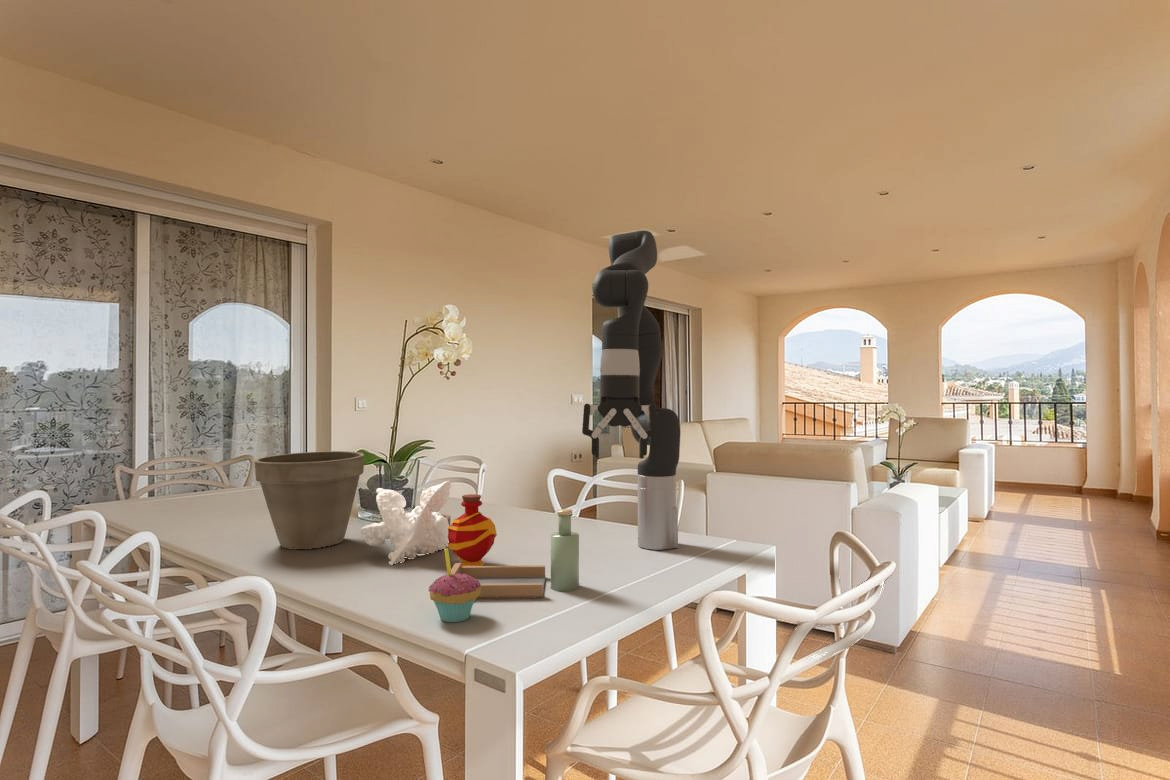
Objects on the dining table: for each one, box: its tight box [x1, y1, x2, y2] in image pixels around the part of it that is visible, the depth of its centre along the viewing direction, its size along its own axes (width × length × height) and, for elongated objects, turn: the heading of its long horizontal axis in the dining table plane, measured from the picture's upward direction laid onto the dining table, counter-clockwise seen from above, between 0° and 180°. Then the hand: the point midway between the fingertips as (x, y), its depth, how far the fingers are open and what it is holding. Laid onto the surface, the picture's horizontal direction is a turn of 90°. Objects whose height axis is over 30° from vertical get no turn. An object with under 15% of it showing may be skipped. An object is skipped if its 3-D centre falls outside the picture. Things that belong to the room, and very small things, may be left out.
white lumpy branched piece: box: [359, 480, 452, 565], centre depth 150 cm, size 19×20×20 cm
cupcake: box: [428, 544, 482, 623], centre depth 108 cm, size 9×8×12 cm
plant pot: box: [253, 450, 365, 550], centre depth 161 cm, size 25×25×22 cm
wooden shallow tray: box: [451, 562, 546, 600], centre depth 124 cm, size 18×13×3 cm
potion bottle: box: [447, 493, 498, 566], centre depth 140 cm, size 10×10×15 cm
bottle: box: [550, 508, 580, 592], centre depth 124 cm, size 5×5×15 cm
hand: (618, 458), depth 125 cm, fingers open, 8 cm apart
